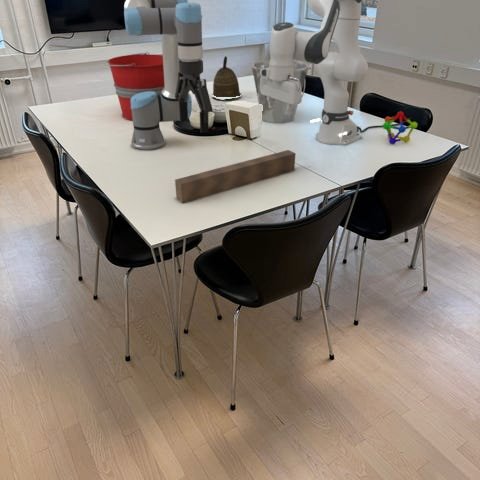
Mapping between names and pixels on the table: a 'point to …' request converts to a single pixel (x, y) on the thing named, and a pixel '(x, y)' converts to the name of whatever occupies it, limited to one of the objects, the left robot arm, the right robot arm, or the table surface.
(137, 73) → the bucket
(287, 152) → the beam
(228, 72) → the bell
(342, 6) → the right robot arm
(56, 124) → the table surface
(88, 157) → the table surface
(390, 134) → the educational toy
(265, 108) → the bucket
